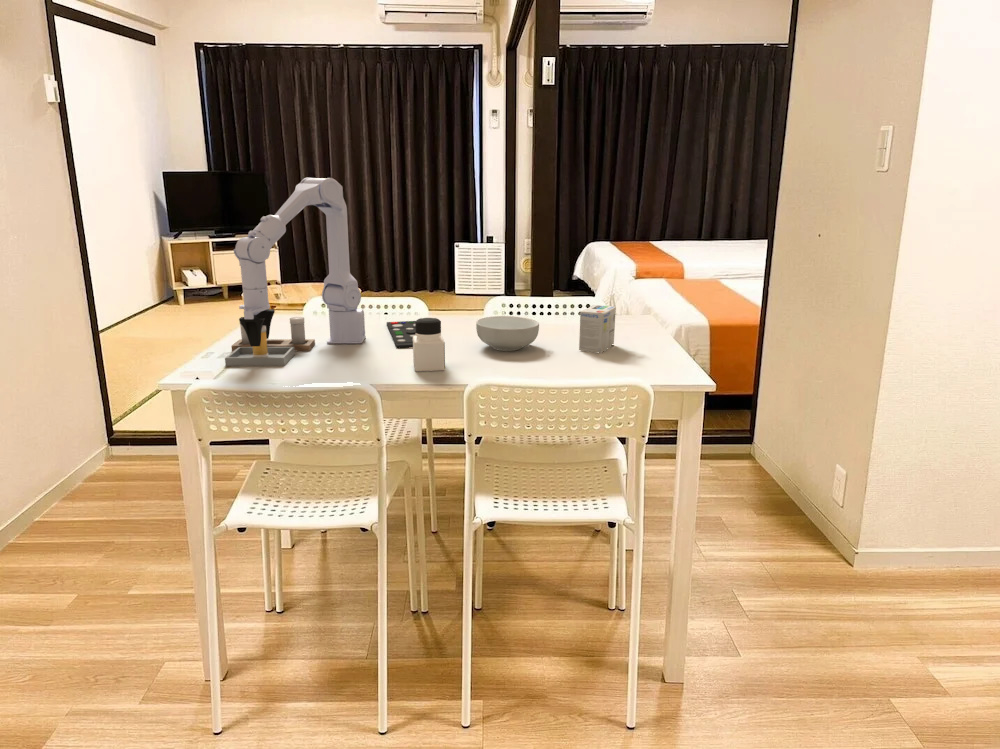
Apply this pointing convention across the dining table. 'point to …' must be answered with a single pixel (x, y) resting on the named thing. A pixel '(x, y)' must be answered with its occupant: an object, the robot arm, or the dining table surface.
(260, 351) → the amber fuse
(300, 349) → the brown wooden rack
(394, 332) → the remote control
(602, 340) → the light bulb box
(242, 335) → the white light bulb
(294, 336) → the cylinder
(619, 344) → the dining table surface
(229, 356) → the tray
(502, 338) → the cereal bowl
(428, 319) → the medicine bottle
